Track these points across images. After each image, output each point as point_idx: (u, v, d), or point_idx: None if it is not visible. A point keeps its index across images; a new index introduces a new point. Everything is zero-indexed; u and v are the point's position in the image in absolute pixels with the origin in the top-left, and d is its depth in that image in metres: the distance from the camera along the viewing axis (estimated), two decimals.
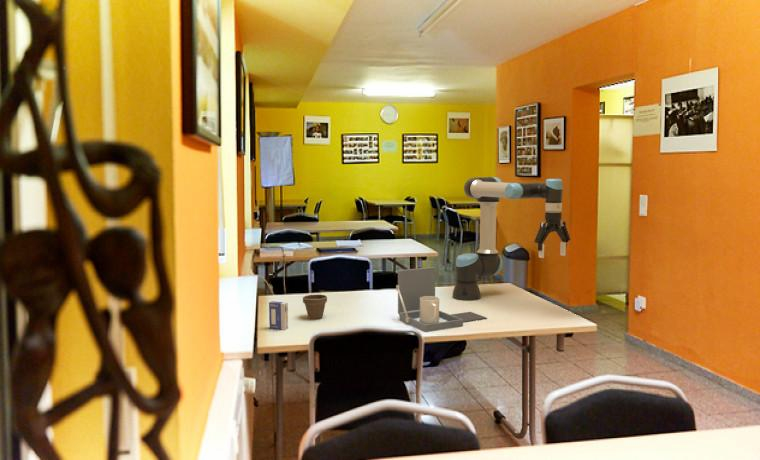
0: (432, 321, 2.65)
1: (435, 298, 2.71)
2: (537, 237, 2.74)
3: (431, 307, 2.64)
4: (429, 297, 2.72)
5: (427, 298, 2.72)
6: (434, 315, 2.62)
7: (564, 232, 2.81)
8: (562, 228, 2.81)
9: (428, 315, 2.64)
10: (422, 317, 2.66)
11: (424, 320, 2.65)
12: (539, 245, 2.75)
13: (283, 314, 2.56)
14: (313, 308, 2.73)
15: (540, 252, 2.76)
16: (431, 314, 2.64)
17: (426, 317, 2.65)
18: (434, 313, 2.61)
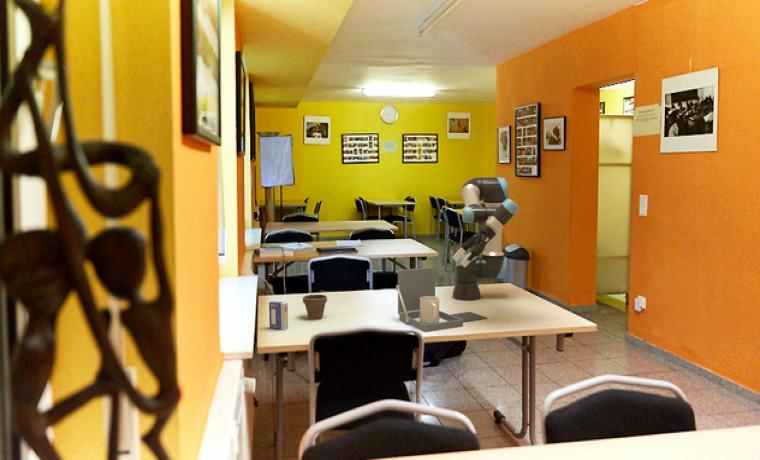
0: (432, 321, 2.65)
1: (435, 298, 2.71)
2: None
3: (431, 307, 2.64)
4: (429, 297, 2.72)
5: (427, 298, 2.72)
6: (434, 315, 2.62)
7: None
8: None
9: (428, 315, 2.64)
10: (422, 317, 2.66)
11: (424, 320, 2.65)
12: None
13: (283, 314, 2.56)
14: (313, 308, 2.73)
15: None
16: (431, 314, 2.64)
17: (426, 317, 2.65)
18: (434, 313, 2.61)
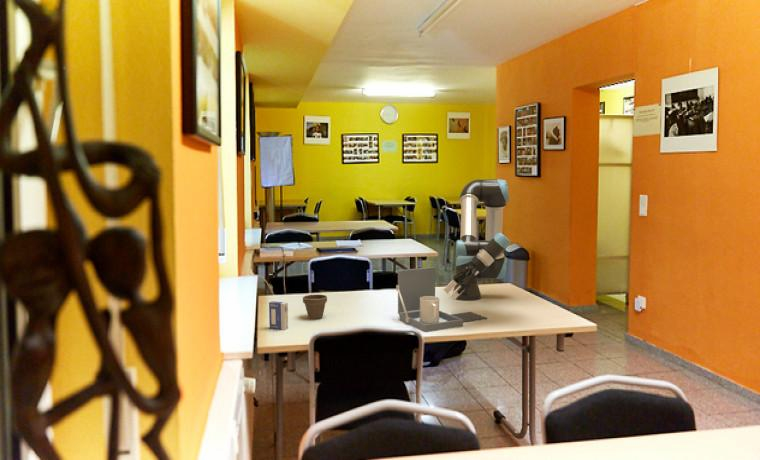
0: (432, 321, 2.65)
1: (435, 298, 2.71)
2: None
3: (431, 307, 2.64)
4: (429, 297, 2.72)
5: (427, 298, 2.72)
6: (434, 315, 2.62)
7: None
8: None
9: (428, 315, 2.64)
10: (422, 317, 2.66)
11: (424, 320, 2.65)
12: None
13: (283, 314, 2.56)
14: (313, 308, 2.73)
15: None
16: (431, 314, 2.64)
17: (426, 317, 2.65)
18: (434, 313, 2.61)
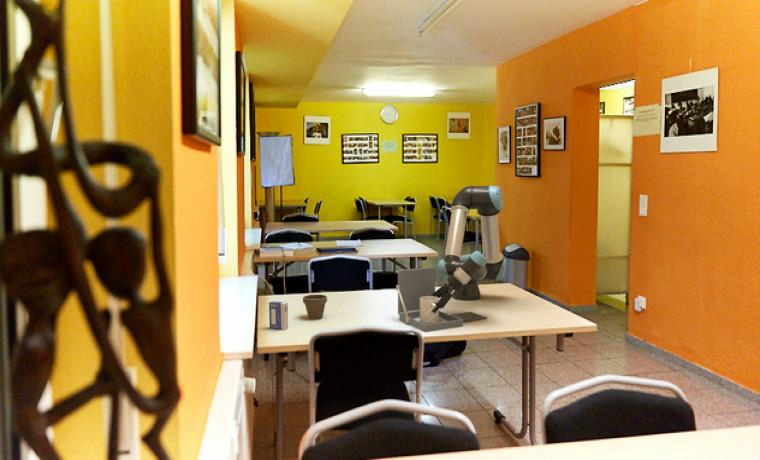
0: (432, 321, 2.65)
1: (435, 298, 2.71)
2: None
3: (431, 307, 2.64)
4: (429, 297, 2.72)
5: (427, 298, 2.72)
6: (434, 315, 2.62)
7: None
8: None
9: None
10: (422, 317, 2.66)
11: (424, 320, 2.65)
12: None
13: (283, 314, 2.56)
14: (313, 308, 2.73)
15: None
16: None
17: (426, 317, 2.65)
18: None
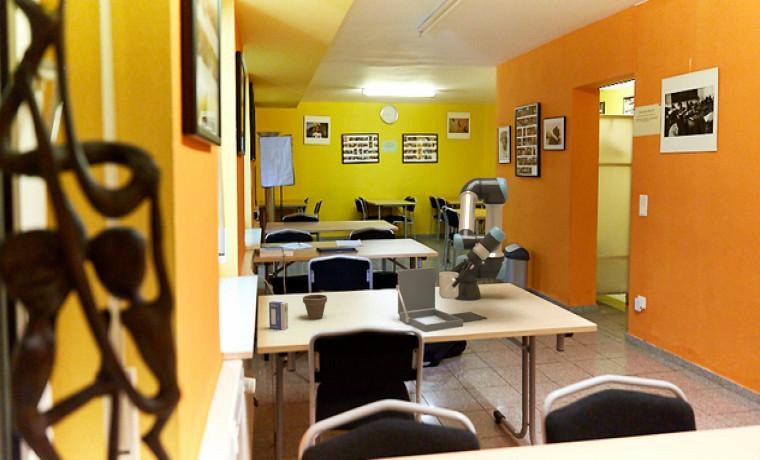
0: (451, 296, 2.69)
1: (454, 273, 2.75)
2: None
3: (450, 282, 2.69)
4: (448, 272, 2.77)
5: (446, 273, 2.77)
6: (453, 290, 2.66)
7: None
8: None
9: None
10: (442, 292, 2.71)
11: (444, 295, 2.70)
12: None
13: (283, 314, 2.56)
14: (313, 308, 2.73)
15: None
16: None
17: (446, 292, 2.69)
18: None
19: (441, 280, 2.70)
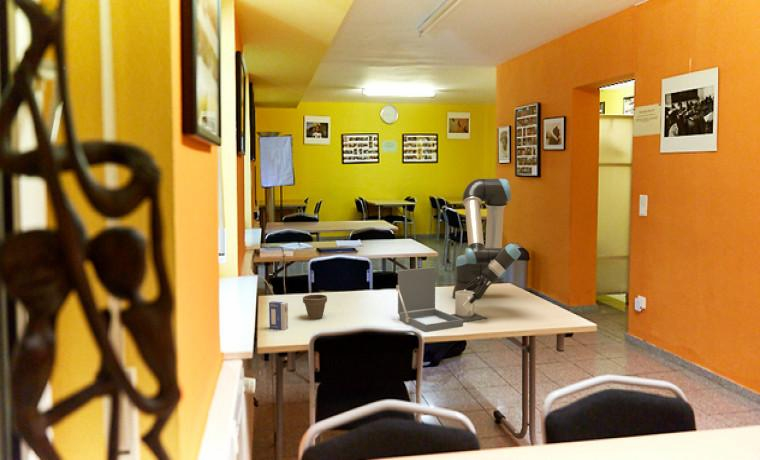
0: (468, 314, 2.74)
1: (470, 292, 2.80)
2: None
3: None
4: (464, 291, 2.81)
5: (462, 292, 2.81)
6: (470, 308, 2.71)
7: None
8: None
9: (464, 308, 2.74)
10: (458, 310, 2.75)
11: (460, 313, 2.75)
12: None
13: (283, 314, 2.56)
14: (313, 308, 2.73)
15: None
16: None
17: (462, 310, 2.74)
18: (470, 306, 2.71)
19: (457, 299, 2.75)
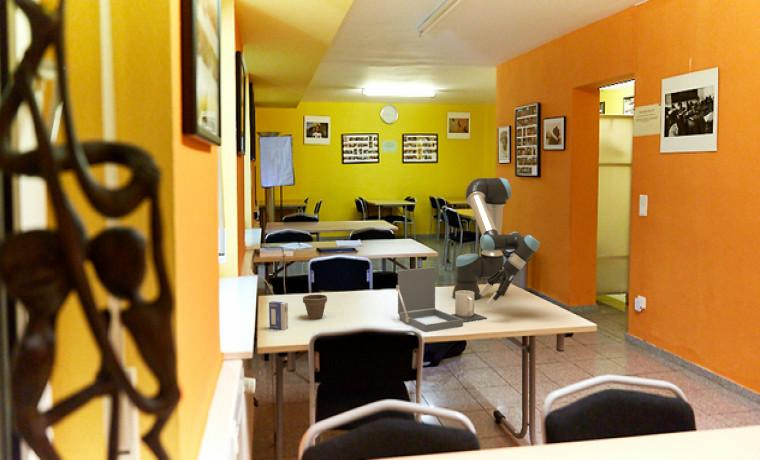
0: (468, 314, 2.74)
1: (470, 292, 2.80)
2: None
3: (467, 301, 2.73)
4: (464, 291, 2.81)
5: (462, 292, 2.81)
6: (470, 308, 2.71)
7: None
8: None
9: (464, 308, 2.74)
10: (458, 310, 2.75)
11: (460, 313, 2.75)
12: None
13: (283, 314, 2.56)
14: (313, 308, 2.73)
15: None
16: (467, 307, 2.74)
17: (462, 310, 2.74)
18: (470, 306, 2.71)
19: (457, 299, 2.75)
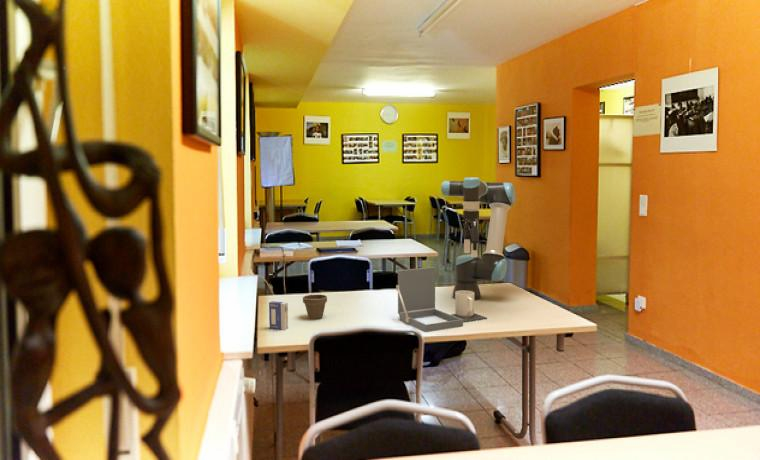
0: (468, 314, 2.74)
1: (470, 292, 2.80)
2: None
3: (467, 301, 2.73)
4: (464, 291, 2.81)
5: (462, 292, 2.81)
6: (470, 308, 2.71)
7: None
8: None
9: (464, 308, 2.74)
10: (458, 310, 2.75)
11: (460, 313, 2.75)
12: None
13: (283, 314, 2.56)
14: (313, 308, 2.73)
15: None
16: (467, 307, 2.74)
17: (462, 310, 2.74)
18: (470, 306, 2.71)
19: (457, 299, 2.75)
